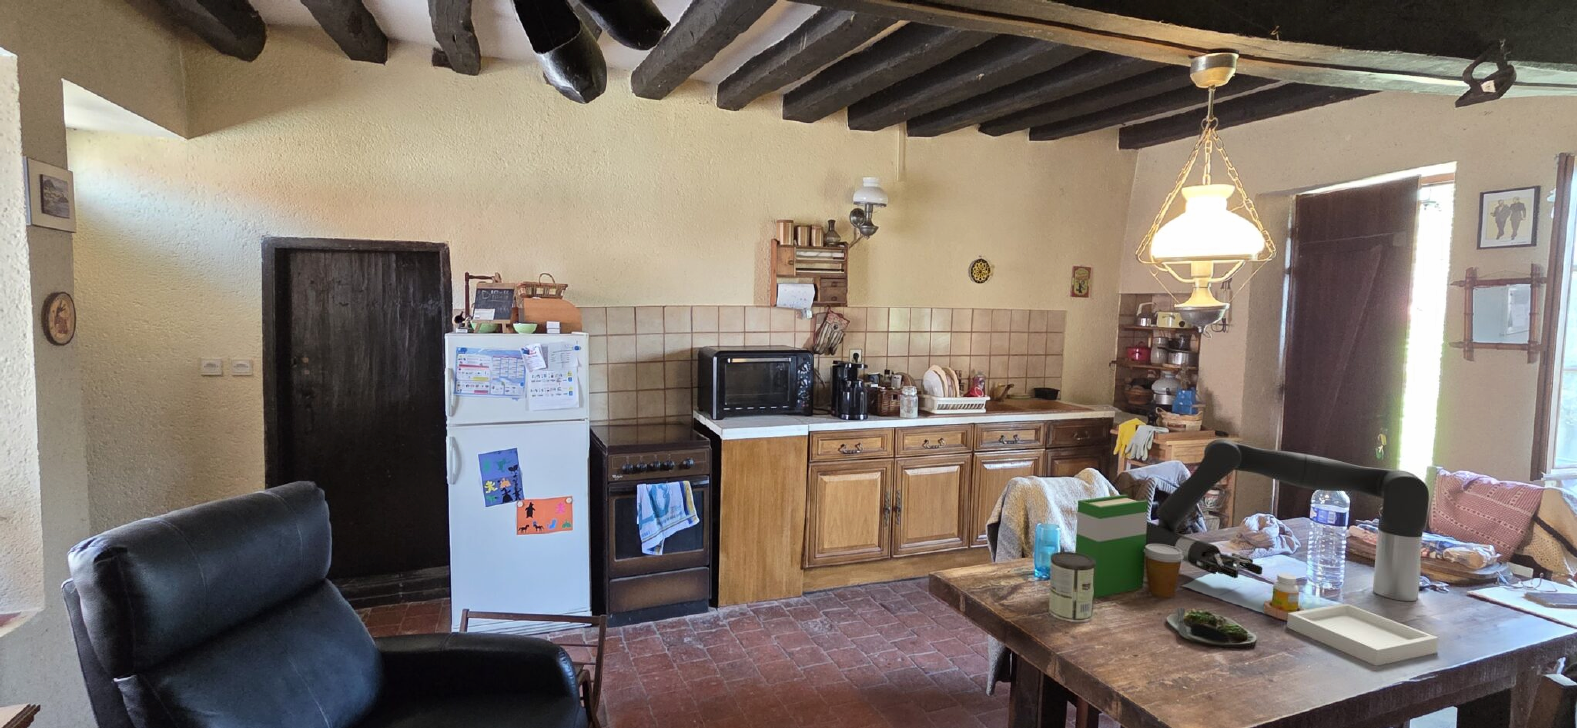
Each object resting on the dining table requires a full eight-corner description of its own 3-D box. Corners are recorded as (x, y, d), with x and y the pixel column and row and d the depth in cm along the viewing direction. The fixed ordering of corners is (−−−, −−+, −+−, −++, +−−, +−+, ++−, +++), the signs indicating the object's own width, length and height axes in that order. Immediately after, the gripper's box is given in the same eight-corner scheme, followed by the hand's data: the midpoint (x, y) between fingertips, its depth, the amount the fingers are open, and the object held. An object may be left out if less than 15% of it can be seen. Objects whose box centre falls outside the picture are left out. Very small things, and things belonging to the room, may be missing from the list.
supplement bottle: (1266, 609, 190) (1268, 572, 189) (1286, 609, 190) (1288, 571, 190) (1281, 618, 185) (1284, 580, 184) (1302, 618, 185) (1305, 579, 184)
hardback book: (1120, 578, 210) (1125, 494, 208) (1143, 587, 203) (1148, 500, 201) (1073, 587, 202) (1078, 500, 200) (1095, 597, 196) (1100, 507, 194)
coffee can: (1058, 602, 192) (1061, 548, 191) (1099, 614, 185) (1102, 558, 184) (1040, 613, 185) (1043, 558, 184) (1082, 626, 178) (1085, 568, 177)
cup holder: (1280, 605, 193) (1280, 598, 193) (1312, 618, 185) (1313, 611, 185) (1256, 609, 190) (1256, 602, 190) (1288, 622, 182) (1288, 615, 182)
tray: (1344, 616, 186) (1346, 603, 186) (1437, 652, 167) (1438, 637, 167) (1286, 627, 180) (1287, 612, 179) (1376, 665, 161) (1377, 649, 160)
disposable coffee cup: (1186, 601, 194) (1188, 556, 193) (1146, 597, 196) (1149, 553, 195) (1175, 587, 204) (1177, 544, 203) (1137, 584, 206) (1139, 541, 205)
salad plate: (1146, 614, 187) (1147, 596, 186) (1218, 614, 187) (1219, 597, 187) (1188, 650, 168) (1189, 630, 167) (1268, 651, 168) (1269, 631, 167)
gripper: (1178, 542, 209) (1229, 561, 194) (1216, 537, 214) (1270, 555, 198) (1176, 568, 210) (1228, 589, 194) (1215, 563, 214) (1268, 583, 199)
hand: (1249, 572), depth 196 cm, fingers open, 8 cm apart
